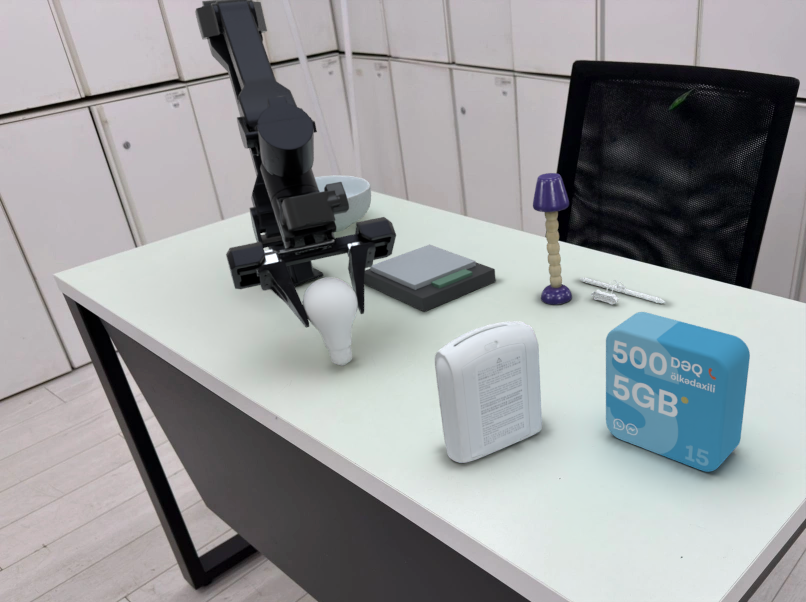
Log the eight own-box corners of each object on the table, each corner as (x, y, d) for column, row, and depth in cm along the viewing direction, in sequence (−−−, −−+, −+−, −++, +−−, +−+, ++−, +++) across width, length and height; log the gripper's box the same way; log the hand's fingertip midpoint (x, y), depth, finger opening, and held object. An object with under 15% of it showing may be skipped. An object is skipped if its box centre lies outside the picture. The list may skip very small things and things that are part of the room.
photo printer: (525, 413, 78) (518, 305, 71) (549, 431, 74) (544, 320, 68) (438, 449, 73) (422, 338, 67) (460, 471, 70) (445, 355, 63)
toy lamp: (532, 301, 101) (524, 179, 92) (546, 288, 104) (540, 169, 96) (564, 306, 99) (560, 182, 90) (578, 293, 102) (575, 171, 94)
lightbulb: (324, 382, 85) (305, 295, 80) (311, 360, 90) (291, 276, 84) (375, 368, 88) (359, 282, 82) (359, 347, 92) (344, 264, 87)
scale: (363, 284, 110) (360, 266, 109) (432, 257, 117) (430, 240, 116) (424, 312, 100) (421, 293, 99) (496, 281, 108) (494, 263, 106)
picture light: (666, 303, 98) (667, 288, 97) (647, 315, 95) (648, 300, 94) (581, 280, 106) (581, 266, 105) (562, 290, 103) (561, 276, 102)
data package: (604, 434, 73) (604, 325, 67) (629, 413, 76) (631, 307, 70) (717, 478, 66) (729, 361, 60) (739, 453, 69) (752, 339, 63)
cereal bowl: (289, 250, 125) (280, 209, 121) (273, 223, 138) (264, 185, 134) (387, 230, 130) (380, 190, 126) (362, 206, 143) (356, 169, 140)
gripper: (204, 175, 77) (245, 312, 74) (378, 146, 83) (423, 271, 80) (216, 227, 87) (253, 349, 84) (370, 197, 93) (410, 310, 90)
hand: (335, 319), depth 84 cm, fingers closed on lightbulb, 6 cm apart
